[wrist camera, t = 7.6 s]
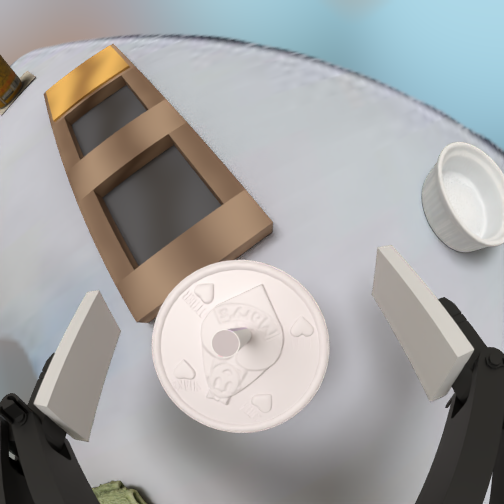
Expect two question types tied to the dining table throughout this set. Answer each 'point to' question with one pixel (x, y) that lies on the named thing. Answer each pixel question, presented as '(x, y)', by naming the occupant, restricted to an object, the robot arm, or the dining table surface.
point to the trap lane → (146, 182)
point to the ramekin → (465, 198)
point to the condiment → (11, 84)
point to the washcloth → (117, 494)
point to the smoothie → (240, 346)
